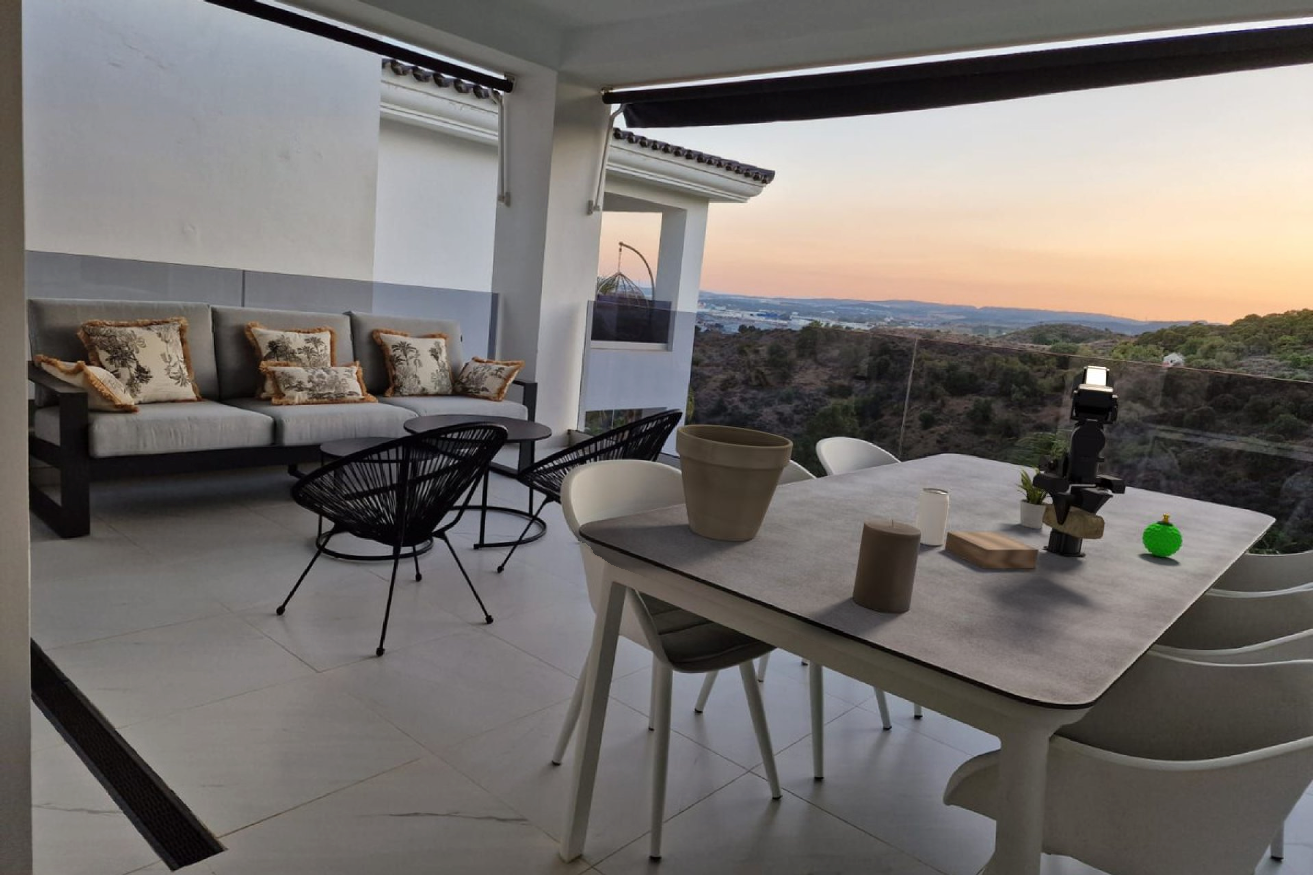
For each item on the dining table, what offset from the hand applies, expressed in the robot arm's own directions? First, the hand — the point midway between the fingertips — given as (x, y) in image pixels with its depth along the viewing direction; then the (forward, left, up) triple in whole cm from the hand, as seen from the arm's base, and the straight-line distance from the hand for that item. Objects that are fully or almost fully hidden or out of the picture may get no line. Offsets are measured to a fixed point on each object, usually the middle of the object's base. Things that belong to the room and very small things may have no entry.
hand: (1072, 524), depth 170 cm
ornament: (-40, -13, -11) cm, 44 cm away
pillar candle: (+51, +12, -11) cm, 53 cm away
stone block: (0, 0, -2) cm, 2 cm away
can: (+16, -24, -11) cm, 31 cm away
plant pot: (+63, -31, -11) cm, 71 cm away
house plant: (-27, -38, -11) cm, 48 cm away
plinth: (+9, -12, -11) cm, 18 cm away
